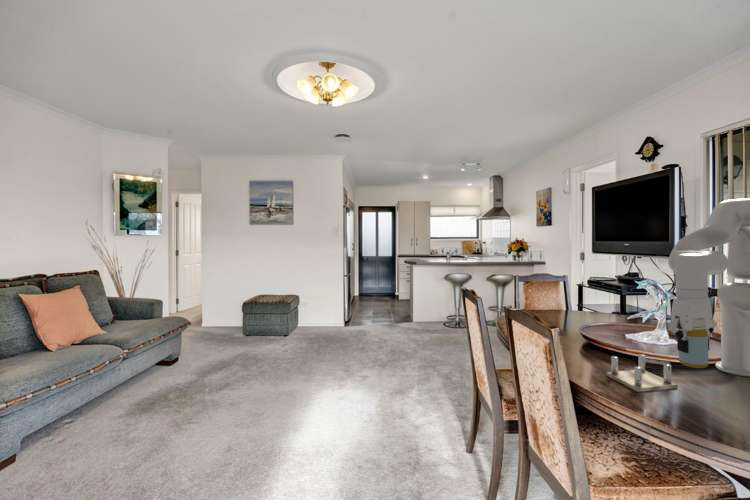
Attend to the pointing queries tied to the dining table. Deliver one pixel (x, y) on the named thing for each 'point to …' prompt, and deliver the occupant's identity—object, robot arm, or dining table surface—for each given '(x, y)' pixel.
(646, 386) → the holder base
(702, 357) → the bottle
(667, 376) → the holder pins
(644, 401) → the dining table surface
